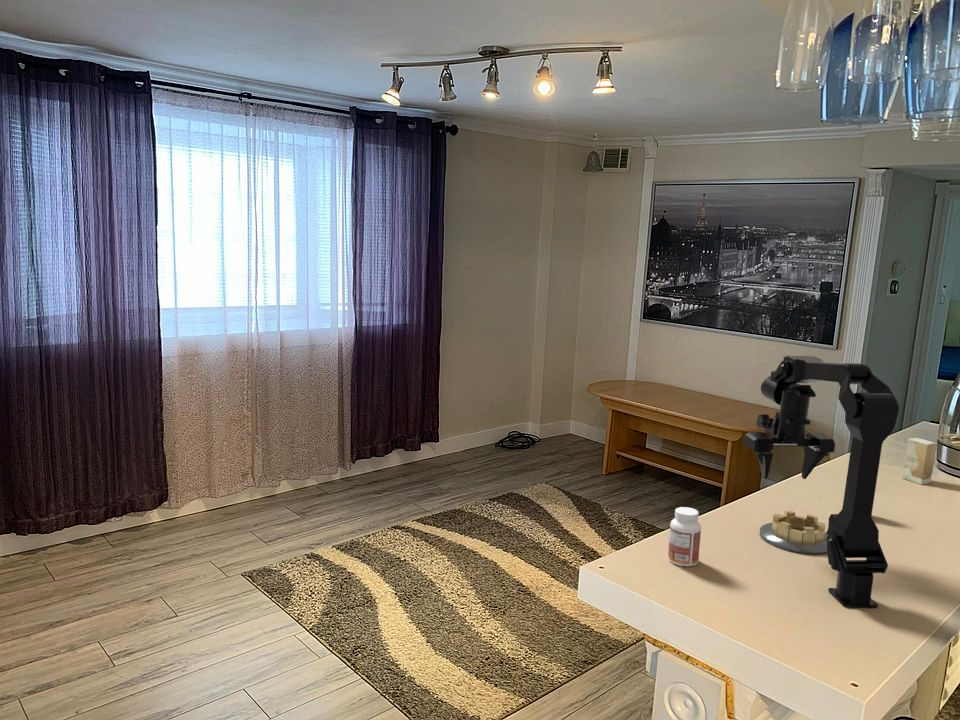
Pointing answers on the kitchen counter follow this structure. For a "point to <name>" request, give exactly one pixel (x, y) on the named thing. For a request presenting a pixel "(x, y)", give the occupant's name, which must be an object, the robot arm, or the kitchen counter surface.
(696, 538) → the pill bottle
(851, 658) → the kitchen counter surface
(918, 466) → the skincare box
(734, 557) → the kitchen counter surface
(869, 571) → the robot arm
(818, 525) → the crown on disc
